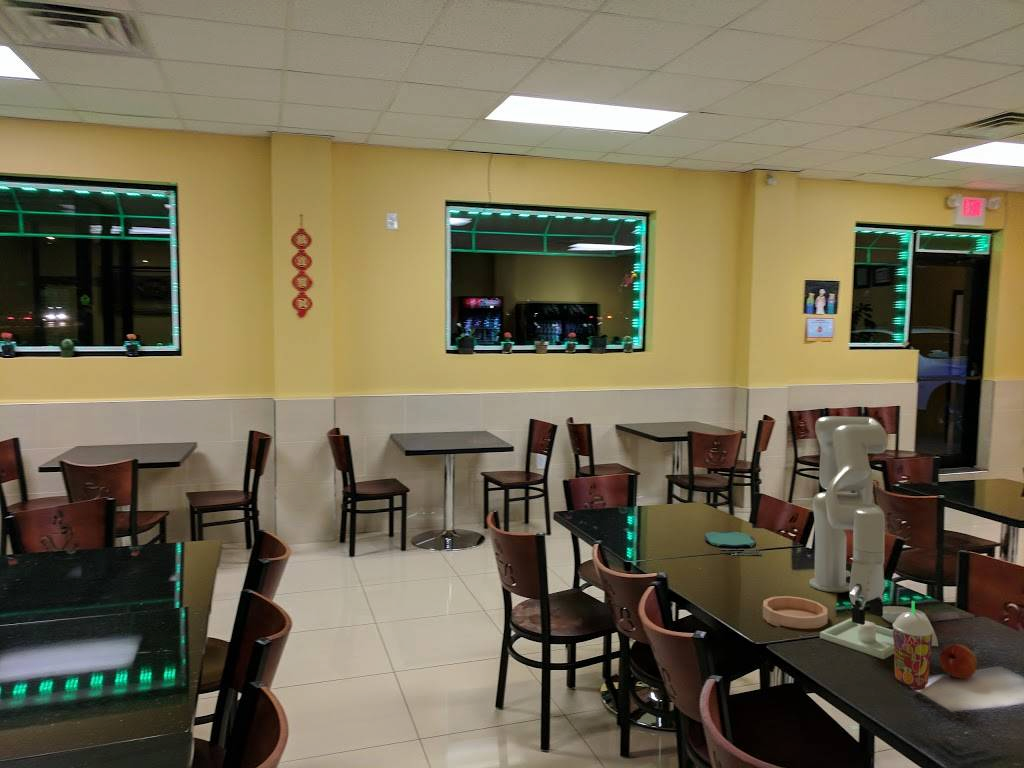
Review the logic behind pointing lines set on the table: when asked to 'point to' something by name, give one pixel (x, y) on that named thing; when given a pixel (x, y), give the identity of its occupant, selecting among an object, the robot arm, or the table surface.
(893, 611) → the spoon rest
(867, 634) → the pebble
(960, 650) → the fruit
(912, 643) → the smoothie
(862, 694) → the table surface
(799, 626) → the bowl
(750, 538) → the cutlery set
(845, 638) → the tray
